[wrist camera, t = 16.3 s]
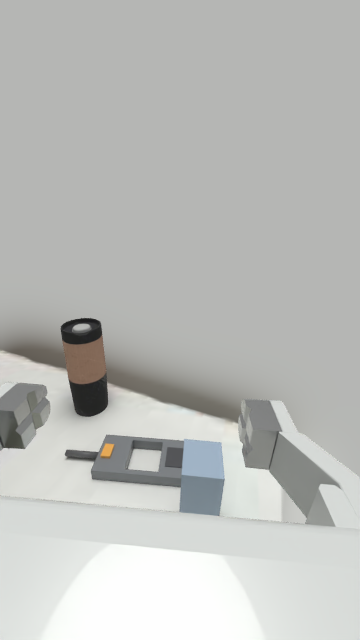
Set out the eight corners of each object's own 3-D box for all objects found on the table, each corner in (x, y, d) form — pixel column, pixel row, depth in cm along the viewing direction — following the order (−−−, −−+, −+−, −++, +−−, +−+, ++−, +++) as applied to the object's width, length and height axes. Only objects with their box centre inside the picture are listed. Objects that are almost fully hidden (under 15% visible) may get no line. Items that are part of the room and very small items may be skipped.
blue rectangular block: (177, 548, 31) (181, 474, 25) (180, 508, 35) (184, 438, 30) (213, 553, 30) (224, 479, 25) (211, 512, 35) (221, 441, 30)
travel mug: (89, 390, 59) (79, 315, 51) (115, 399, 56) (109, 321, 49) (66, 411, 52) (50, 328, 45) (94, 421, 50) (82, 336, 42)
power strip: (56, 475, 39) (54, 465, 38) (76, 440, 45) (74, 430, 44) (215, 489, 38) (216, 479, 37) (212, 451, 44) (213, 441, 43)
